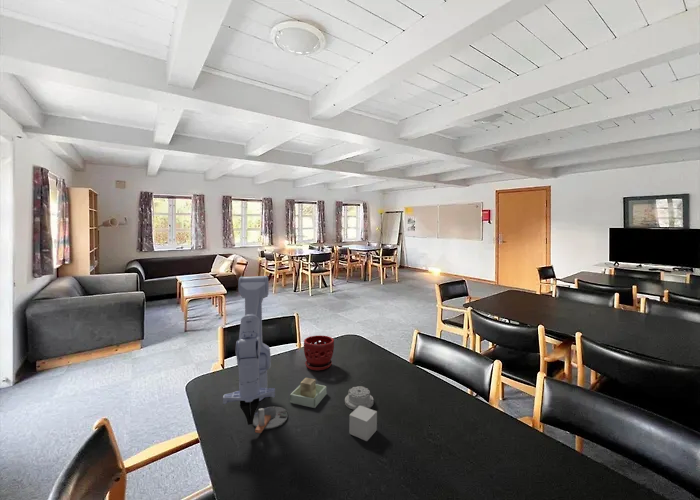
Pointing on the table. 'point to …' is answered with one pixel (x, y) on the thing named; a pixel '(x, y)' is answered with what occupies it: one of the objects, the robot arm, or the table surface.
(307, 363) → the plant pot
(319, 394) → the tray
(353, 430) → the light grey cube
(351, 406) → the mechanical component
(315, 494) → the table surface
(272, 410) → the crank
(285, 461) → the table surface
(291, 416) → the table surface
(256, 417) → the dial plate
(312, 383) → the brown block
